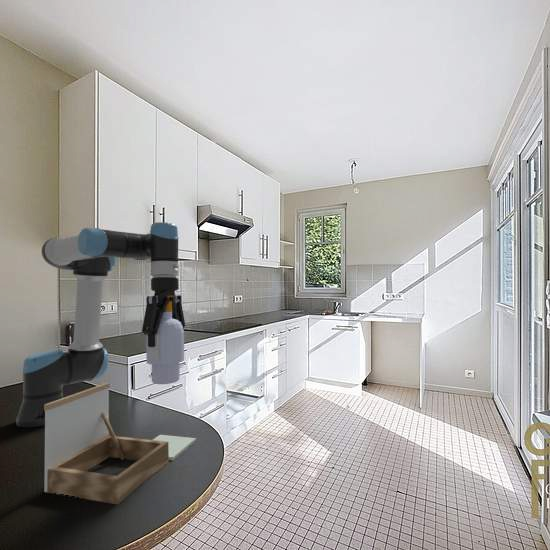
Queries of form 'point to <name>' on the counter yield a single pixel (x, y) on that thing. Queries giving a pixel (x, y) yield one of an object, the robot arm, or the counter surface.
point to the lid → (74, 424)
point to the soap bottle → (168, 349)
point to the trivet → (176, 444)
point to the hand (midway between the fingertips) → (165, 355)
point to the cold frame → (104, 487)
